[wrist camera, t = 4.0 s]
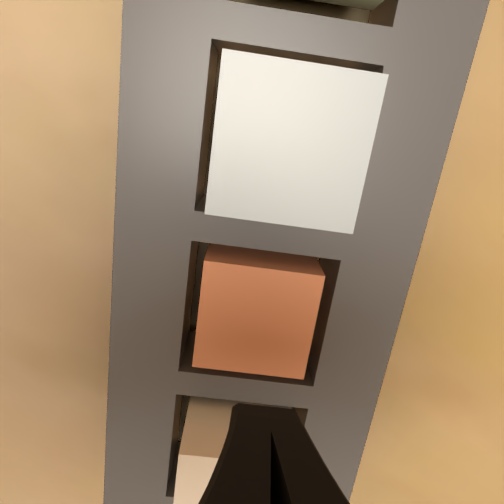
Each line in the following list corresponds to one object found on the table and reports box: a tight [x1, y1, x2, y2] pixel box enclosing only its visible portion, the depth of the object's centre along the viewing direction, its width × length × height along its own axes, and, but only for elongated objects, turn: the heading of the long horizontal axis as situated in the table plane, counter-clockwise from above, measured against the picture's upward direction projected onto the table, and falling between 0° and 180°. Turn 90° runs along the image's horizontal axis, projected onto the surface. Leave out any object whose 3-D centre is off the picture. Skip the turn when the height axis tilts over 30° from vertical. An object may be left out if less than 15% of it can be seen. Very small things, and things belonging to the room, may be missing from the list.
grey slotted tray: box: [103, 0, 490, 504], centre depth 15 cm, size 10×26×3 cm, turn 172°
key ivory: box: [173, 396, 292, 504], centre depth 16 cm, size 4×4×3 cm
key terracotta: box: [192, 243, 325, 380], centre depth 16 cm, size 4×4×3 cm
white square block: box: [205, 48, 389, 234], centre depth 12 cm, size 4×4×3 cm
